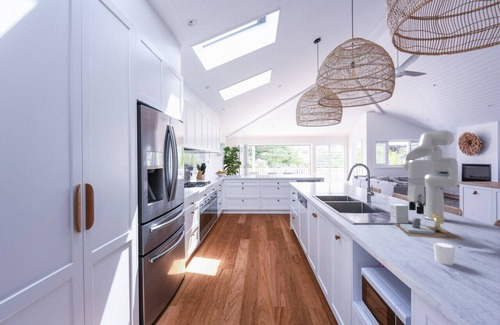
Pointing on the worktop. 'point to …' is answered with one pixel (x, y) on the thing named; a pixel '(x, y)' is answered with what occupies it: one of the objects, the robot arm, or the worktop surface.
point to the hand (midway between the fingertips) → (416, 211)
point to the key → (438, 222)
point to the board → (437, 234)
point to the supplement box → (399, 213)
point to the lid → (416, 227)
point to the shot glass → (444, 253)
